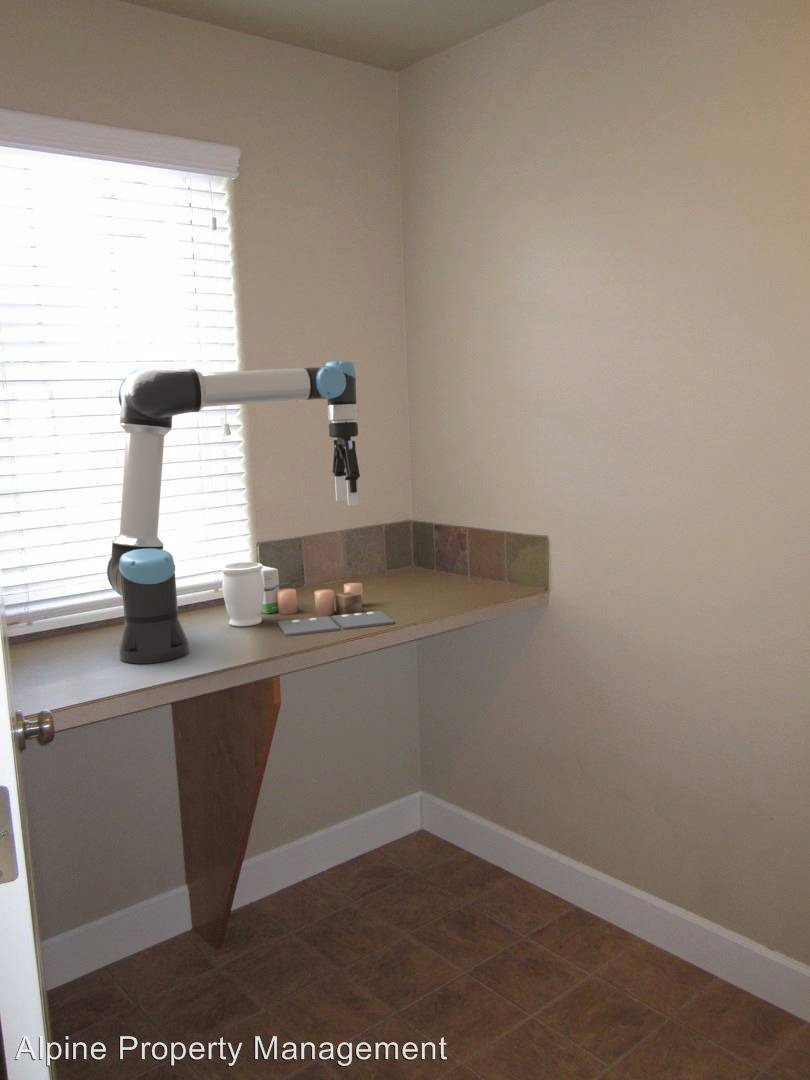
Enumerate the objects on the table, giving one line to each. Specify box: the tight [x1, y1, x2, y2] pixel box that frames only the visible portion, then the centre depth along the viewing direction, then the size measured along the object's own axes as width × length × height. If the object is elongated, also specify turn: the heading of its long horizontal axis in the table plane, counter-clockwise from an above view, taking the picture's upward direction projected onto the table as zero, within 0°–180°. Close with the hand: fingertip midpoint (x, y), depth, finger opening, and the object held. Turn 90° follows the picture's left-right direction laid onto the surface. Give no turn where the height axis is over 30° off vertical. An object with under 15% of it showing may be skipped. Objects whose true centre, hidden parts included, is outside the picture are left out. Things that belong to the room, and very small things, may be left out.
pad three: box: [331, 610, 395, 630], centre depth 224 cm, size 13×13×1 cm
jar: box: [220, 561, 264, 627], centre depth 226 cm, size 11×10×15 cm
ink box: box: [261, 565, 280, 615], centre depth 240 cm, size 9×5×12 cm, turn 39°
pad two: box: [277, 616, 340, 637], centre depth 220 cm, size 13×13×1 cm
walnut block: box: [334, 592, 363, 615], centre depth 234 cm, size 5×5×5 cm
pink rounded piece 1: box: [314, 588, 336, 617], centre depth 234 cm, size 5×5×6 cm
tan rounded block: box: [277, 588, 298, 616], centre depth 237 cm, size 5×5×6 cm
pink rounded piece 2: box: [343, 582, 364, 608], centre depth 241 cm, size 5×5×6 cm
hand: (347, 503), depth 234 cm, fingers open, 13 cm apart
